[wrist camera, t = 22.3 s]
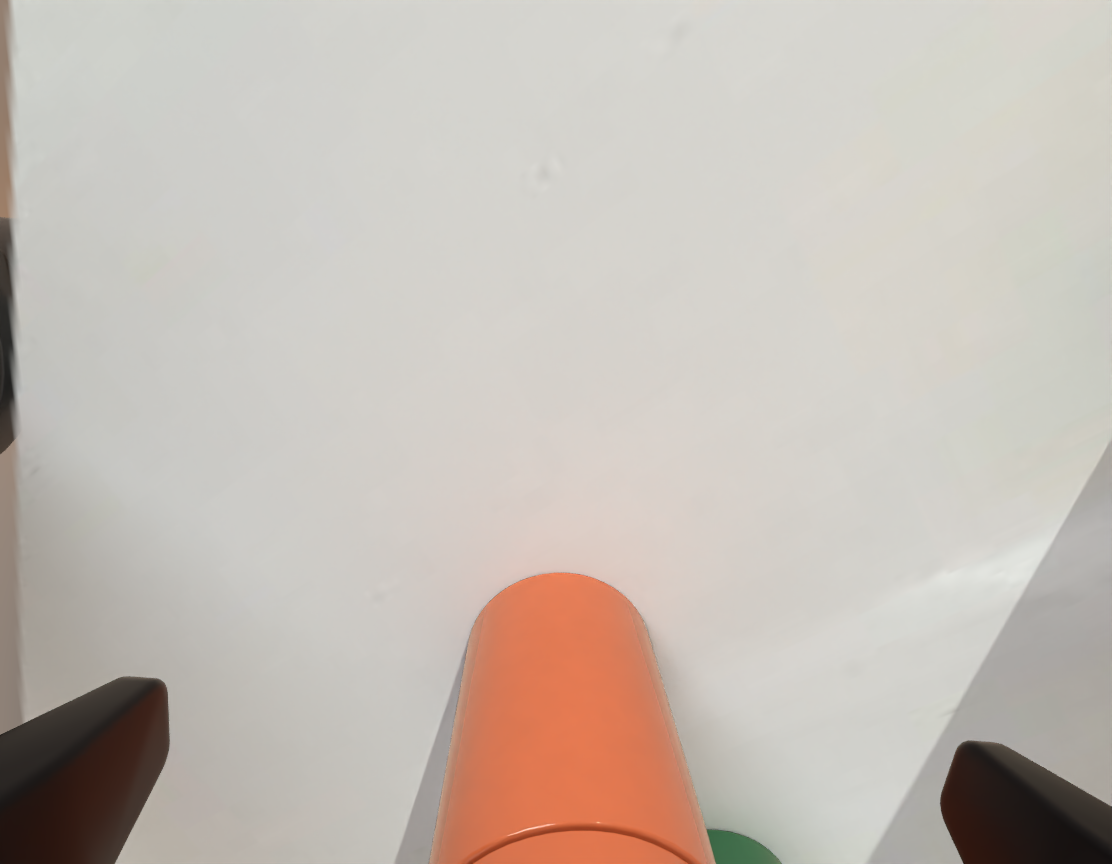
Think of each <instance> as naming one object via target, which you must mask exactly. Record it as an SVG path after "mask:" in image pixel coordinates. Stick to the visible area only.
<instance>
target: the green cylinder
mask: <svg viewBox="0 0 1112 864" xmlns="http://www.w3.org/2000/svg"><path fill="white" fill-rule="evenodd" d="M707 833H708V836H709V839H710V843H711V846H712V849H713V853H714V856H715V860H716V863H717V864H782V863H781V862H780V861H779V859H778V858H777V857H776V856H775V855H774V854H773V853H772V852H771V851H770V850H768V849H767V848H766V847H764V846H763V845H761V844H760V843H758V842H757V841H755V840H752V839H750V838H748V837H745V836H743V835H740V834H736V833H733V832H729V831H721V830H707Z"/></svg>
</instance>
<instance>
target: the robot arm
mask: <svg viewBox="0 0 1112 864" xmlns="http://www.w3.org/2000/svg"><path fill="white" fill-rule="evenodd" d="M169 744H170V736H169V713H168V692H167V687H166V685H165V683H164V682H163V681H162V680H160V679H157V678H144V677H131V676H128V677H120V678H118V679H116V680H113V681H111V682H109V683H107V684H105V685H103V686H101V687H99V688H97V689H95V690H93V691H91V692H88V693H86V694H84V695H82V696H80V697H78V698H76V699H74V700H72V701H70V702H68V703H66V704H64V705H61V706H59V707H57V708H55V709H53V710H51V711H49V712H47V713H45V714H43V715H41V716H39V717H36V718H34V719H32V720H30V721H28V722H26V723H24V724H22V725H20V726H18V727H16V728H14V729H12V730H10V731H7V732H5V733H3V734H1V735H0V864H115V862H116V860H117V858H118V856H119V854H120V852H121V850H122V848H123V846H124V844H125V842H126V840H127V838H128V836H129V834H130V832H131V830H132V828H133V826H134V824H135V822H136V820H137V818H138V817H139V815H140V813H141V811H142V809H143V807H144V805H145V803H146V801H147V799H148V797H149V795H150V793H151V791H152V789H153V787H154V785H155V783H156V781H157V779H158V777H159V775H160V773H161V771H162V769H163V767H164V765H165V762H166V759H167V755H168V752H169ZM940 806H941V812H942V816H943V819H944V822H945V824H946V827H947V829H948V831H949V833H950V835H951V837H952V840H953V842H954V844H955V846H956V848H957V850H958V853H959V855H960V857H961V859H962V861H963V863H964V864H1112V807H1111V806H1109V805H1108V804H1106V803H1104V802H1102V801H1101V800H1099V799H1097V798H1096V797H1094V796H1092V795H1090V794H1089V793H1087V792H1085V791H1083V790H1082V789H1080V788H1078V787H1076V786H1075V785H1073V784H1071V783H1069V782H1068V781H1066V780H1064V779H1062V778H1061V777H1059V776H1057V775H1055V774H1054V773H1052V772H1050V771H1048V770H1047V769H1045V768H1043V767H1041V766H1040V765H1038V764H1036V763H1034V762H1033V761H1031V760H1029V759H1028V758H1026V757H1024V756H1022V755H1021V754H1019V753H1017V752H1015V751H1014V750H1012V749H1010V748H1008V747H1006V746H1004V745H1002V744H999V743H994V742H982V741H965V742H963V743H962V744H960V745H959V746H958V748H957V750H956V752H955V755H954V758H953V761H952V764H951V766H950V769H949V772H948V775H947V778H946V781H945V784H944V787H943V790H942V793H941V798H940Z"/></svg>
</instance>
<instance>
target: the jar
mask: <svg viewBox="0 0 1112 864" xmlns="http://www.w3.org/2000/svg"><path fill="white" fill-rule="evenodd" d="M429 864H717V863H716V860H715V856H714V853H713V849H712V846H711V843H710V839H709V836H708V833H707V829H706V826H705V823H704V819H703V816H702V813H701V809H700V806H699V803H698V799H697V796H696V793H695V789H694V786H693V782H692V779H691V776H690V772H689V769H688V766H687V762H686V759H685V756H684V752H683V749H682V746H681V742H680V739H679V736H678V732H677V729H676V725H675V722H674V719H673V715H672V712H671V709H670V705H669V702H668V699H667V695H666V692H665V689H664V685H663V682H662V679H661V675H660V672H659V669H658V665H657V662H656V658H655V655H654V652H653V648H652V645H651V642H650V638H649V635H648V632H647V629H646V626H645V624H644V621H643V619H642V618H641V616H640V614H639V612H638V611H637V609H636V608H635V607H634V606H633V604H632V603H631V602H630V601H629V600H628V599H627V598H626V597H625V596H624V595H623V594H621V593H620V592H619V591H617V590H616V589H615V588H613V587H611V586H609V585H608V584H606V583H604V582H602V581H599V580H597V579H594V578H592V577H588V576H584V575H580V574H572V573H549V574H542V575H537V576H533V577H530V578H527V579H524V580H521V581H519V582H517V583H515V584H513V585H511V586H509V587H508V588H506V589H505V590H503V591H502V592H500V593H499V594H498V595H496V596H495V597H494V598H493V599H492V600H491V601H490V602H489V603H488V604H487V605H486V606H485V608H484V609H483V610H482V611H481V613H480V614H479V616H478V618H477V619H476V621H475V623H474V626H473V628H472V630H471V634H470V637H469V641H468V646H467V652H466V658H465V663H464V669H463V674H462V680H461V686H460V691H459V697H458V703H457V708H456V714H455V719H454V725H453V731H452V736H451V742H450V747H449V753H448V759H447V764H446V770H445V776H444V781H443V787H442V792H441V798H440V804H439V809H438V815H437V820H436V826H435V832H434V837H433V843H432V849H431V854H430V860H429Z"/></svg>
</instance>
